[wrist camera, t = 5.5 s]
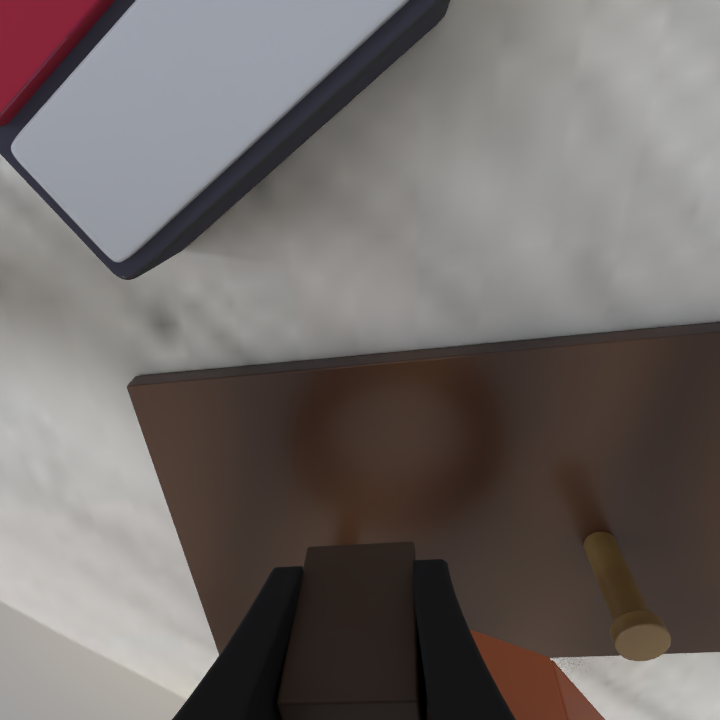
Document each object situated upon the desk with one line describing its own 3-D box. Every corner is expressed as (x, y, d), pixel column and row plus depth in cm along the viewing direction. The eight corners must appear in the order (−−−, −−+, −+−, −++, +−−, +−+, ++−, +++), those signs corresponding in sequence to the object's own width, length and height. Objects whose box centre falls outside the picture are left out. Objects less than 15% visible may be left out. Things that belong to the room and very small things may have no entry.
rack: (813, 312, 18) (955, 390, 14) (741, 635, 25) (821, 763, 20) (134, 375, 21) (59, 460, 16) (228, 654, 27) (193, 772, 23)
